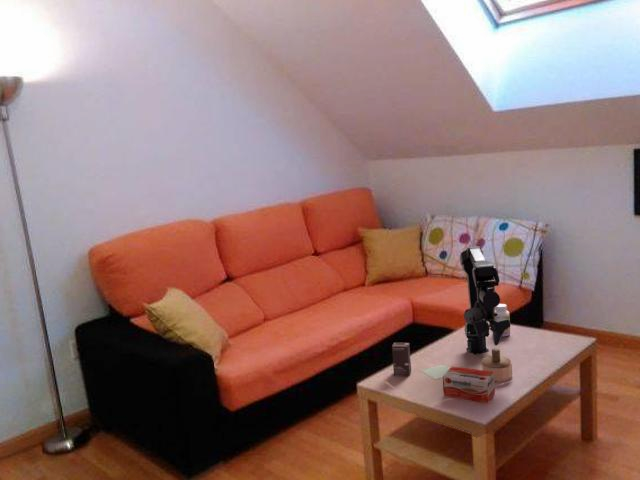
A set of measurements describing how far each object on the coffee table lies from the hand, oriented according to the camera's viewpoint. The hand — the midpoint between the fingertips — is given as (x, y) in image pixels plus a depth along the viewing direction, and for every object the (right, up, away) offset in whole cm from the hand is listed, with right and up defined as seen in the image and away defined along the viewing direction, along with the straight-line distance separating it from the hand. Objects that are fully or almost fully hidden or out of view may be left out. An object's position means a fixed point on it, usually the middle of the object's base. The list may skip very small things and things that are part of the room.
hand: (487, 341), depth 210 cm
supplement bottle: (+17, -4, +39) cm, 43 cm away
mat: (-16, -13, +7) cm, 21 cm away
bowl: (+3, -12, -1) cm, 13 cm away
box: (-29, -14, +8) cm, 33 cm away
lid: (+2, -7, -2) cm, 8 cm away
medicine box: (-10, -16, -13) cm, 23 cm away
